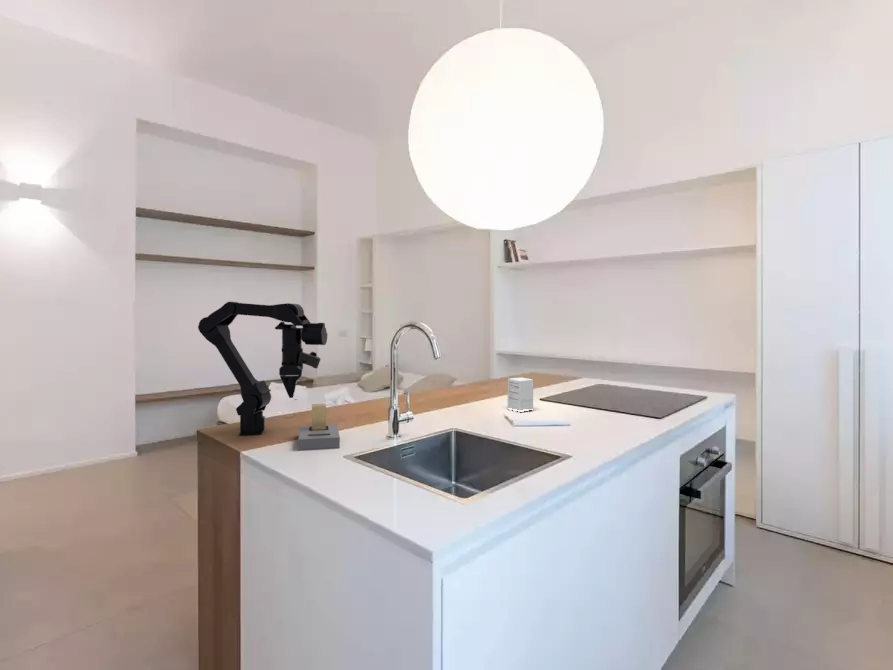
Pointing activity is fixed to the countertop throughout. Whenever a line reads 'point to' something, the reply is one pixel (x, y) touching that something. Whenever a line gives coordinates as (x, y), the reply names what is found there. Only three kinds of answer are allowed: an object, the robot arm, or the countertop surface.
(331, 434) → the socket block
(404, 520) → the countertop surface
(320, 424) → the brass peg
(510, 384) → the supplement box
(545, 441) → the countertop surface
